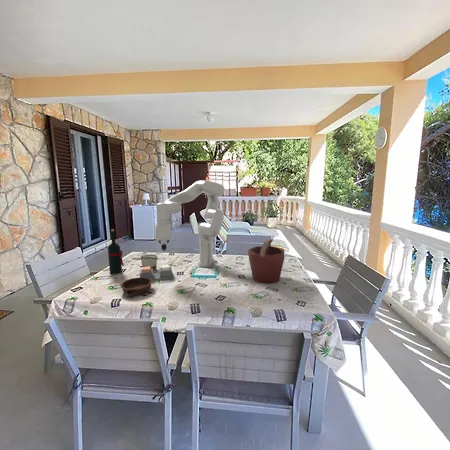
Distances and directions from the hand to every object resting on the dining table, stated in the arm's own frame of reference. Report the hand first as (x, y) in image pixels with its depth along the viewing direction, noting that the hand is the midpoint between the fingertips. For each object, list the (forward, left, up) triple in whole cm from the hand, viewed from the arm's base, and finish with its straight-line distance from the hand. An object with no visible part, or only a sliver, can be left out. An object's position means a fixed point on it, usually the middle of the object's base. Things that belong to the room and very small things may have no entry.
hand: (164, 250), depth 166 cm
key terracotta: (+10, +6, -14) cm, 18 cm away
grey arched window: (+18, -10, -18) cm, 27 cm away
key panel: (+5, +3, -18) cm, 19 cm away
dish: (+4, +24, -18) cm, 30 cm away
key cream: (0, 0, -14) cm, 14 cm away
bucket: (-64, -16, -18) cm, 69 cm away
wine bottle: (+36, +3, -18) cm, 40 cm away
